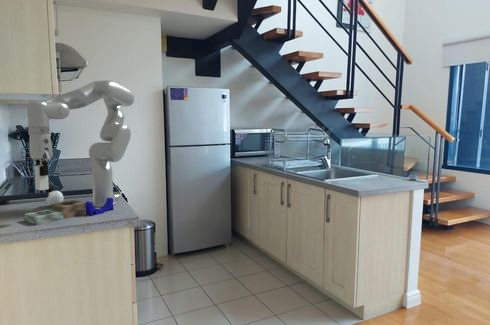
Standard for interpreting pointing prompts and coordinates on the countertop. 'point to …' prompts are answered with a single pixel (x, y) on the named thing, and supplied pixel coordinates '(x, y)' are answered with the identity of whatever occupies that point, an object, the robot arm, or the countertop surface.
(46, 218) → the socket block
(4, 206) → the countertop surface
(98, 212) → the blue curved block
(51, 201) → the white round lump
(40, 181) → the peg
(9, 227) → the countertop surface
